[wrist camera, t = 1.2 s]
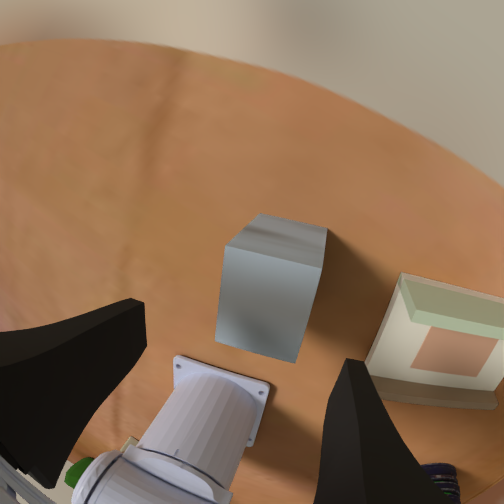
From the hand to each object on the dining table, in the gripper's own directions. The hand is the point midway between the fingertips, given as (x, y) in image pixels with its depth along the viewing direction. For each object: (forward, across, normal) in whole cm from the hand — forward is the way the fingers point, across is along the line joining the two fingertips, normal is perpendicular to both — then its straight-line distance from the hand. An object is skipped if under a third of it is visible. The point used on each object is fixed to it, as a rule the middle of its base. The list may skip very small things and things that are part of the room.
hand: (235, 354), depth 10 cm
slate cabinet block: (+10, 0, 0) cm, 10 cm away
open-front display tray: (+9, -13, +3) cm, 16 cm away
